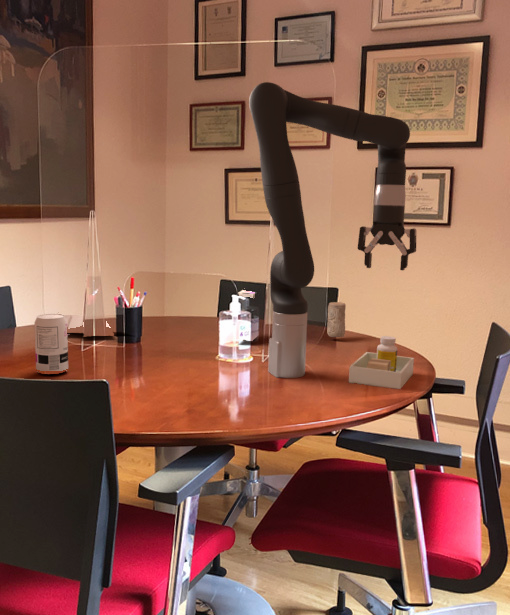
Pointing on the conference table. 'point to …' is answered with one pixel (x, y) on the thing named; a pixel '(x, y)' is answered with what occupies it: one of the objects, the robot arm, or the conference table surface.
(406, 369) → the box
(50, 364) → the supplement can
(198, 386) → the conference table surface
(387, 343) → the supplement bottle
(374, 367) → the birch cube
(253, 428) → the conference table surface
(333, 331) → the carving
